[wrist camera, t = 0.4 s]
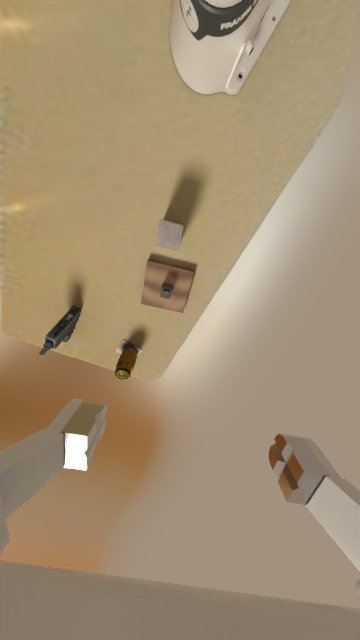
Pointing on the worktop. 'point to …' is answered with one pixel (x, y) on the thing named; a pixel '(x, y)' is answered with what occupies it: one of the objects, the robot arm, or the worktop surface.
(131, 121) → the worktop surface
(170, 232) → the tall wooden block
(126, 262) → the worktop surface
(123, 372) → the condiment
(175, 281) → the wooden base with peg
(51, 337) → the gun
